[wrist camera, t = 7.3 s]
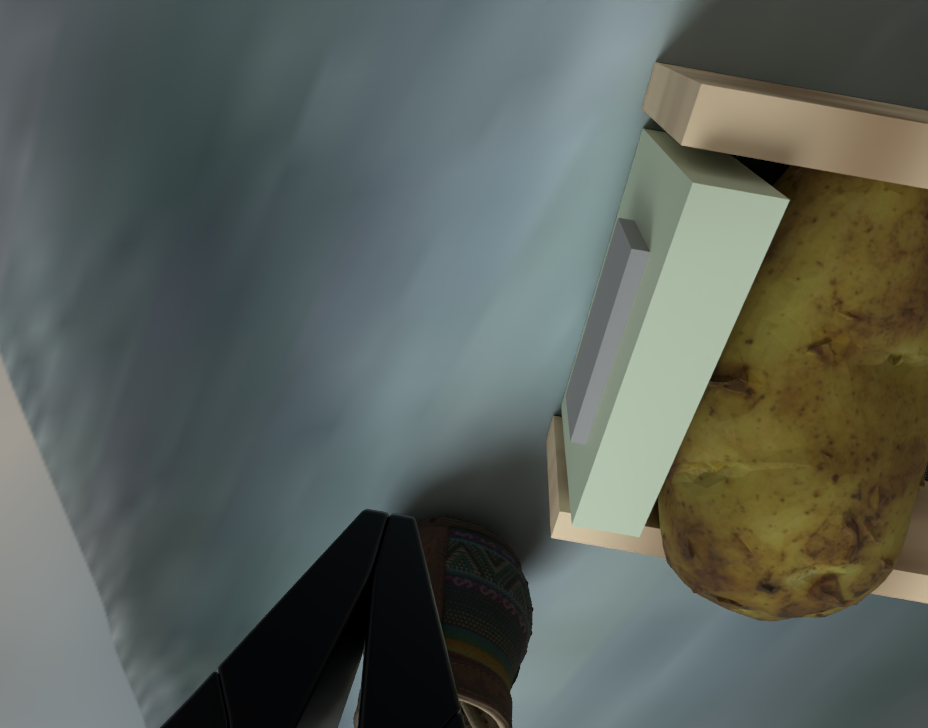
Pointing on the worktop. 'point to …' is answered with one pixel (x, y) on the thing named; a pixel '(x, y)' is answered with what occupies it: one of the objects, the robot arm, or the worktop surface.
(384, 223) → the worktop surface
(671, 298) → the pale green block
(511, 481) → the worktop surface
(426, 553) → the mate gourd
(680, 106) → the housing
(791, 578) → the potato
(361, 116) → the worktop surface
